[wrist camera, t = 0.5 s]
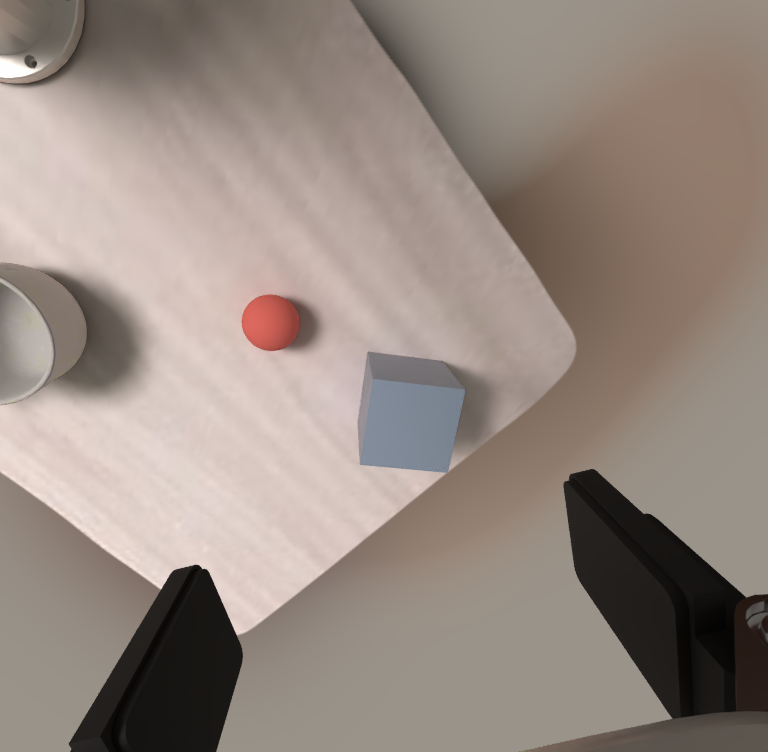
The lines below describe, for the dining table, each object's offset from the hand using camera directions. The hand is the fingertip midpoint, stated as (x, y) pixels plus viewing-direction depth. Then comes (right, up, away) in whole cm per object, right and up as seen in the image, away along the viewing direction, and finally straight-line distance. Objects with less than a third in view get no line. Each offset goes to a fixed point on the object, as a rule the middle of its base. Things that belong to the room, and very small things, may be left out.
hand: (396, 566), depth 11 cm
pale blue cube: (+1, +3, +33) cm, 33 cm away
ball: (-10, +10, +27) cm, 30 cm away
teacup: (-33, +9, +28) cm, 44 cm away
